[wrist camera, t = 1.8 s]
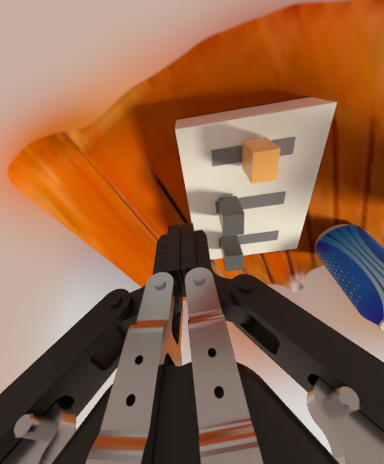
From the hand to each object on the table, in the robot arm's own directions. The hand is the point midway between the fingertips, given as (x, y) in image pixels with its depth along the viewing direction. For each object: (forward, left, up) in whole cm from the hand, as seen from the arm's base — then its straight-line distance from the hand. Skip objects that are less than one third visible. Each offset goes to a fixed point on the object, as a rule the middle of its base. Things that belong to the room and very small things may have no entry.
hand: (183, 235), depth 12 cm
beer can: (-26, +21, -18) cm, 38 cm away
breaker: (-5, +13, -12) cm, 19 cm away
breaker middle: (-5, +7, -12) cm, 15 cm away
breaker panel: (-8, +7, -18) cm, 20 cm away
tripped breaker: (-8, 0, -12) cm, 15 cm away
